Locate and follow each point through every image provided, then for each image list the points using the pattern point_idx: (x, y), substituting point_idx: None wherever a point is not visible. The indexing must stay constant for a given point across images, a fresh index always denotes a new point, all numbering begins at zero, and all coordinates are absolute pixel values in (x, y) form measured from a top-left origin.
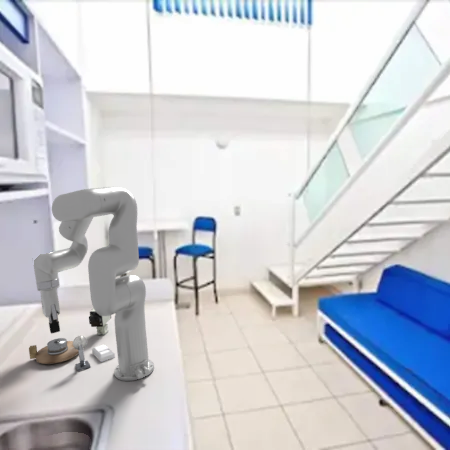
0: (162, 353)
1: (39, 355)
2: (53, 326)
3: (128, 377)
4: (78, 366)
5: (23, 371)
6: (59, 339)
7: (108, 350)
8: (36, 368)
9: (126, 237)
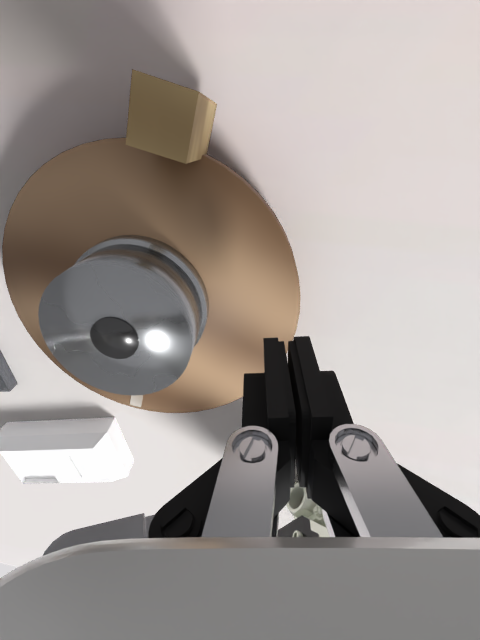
0: (12, 547)
1: (126, 172)
2: (243, 413)
3: None
4: None
5: (17, 19)
6: (159, 360)
7: (47, 474)
8: (37, 131)
9: None
